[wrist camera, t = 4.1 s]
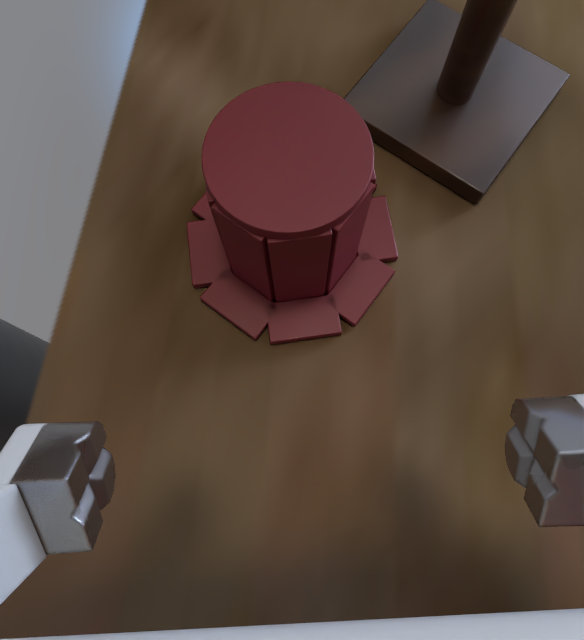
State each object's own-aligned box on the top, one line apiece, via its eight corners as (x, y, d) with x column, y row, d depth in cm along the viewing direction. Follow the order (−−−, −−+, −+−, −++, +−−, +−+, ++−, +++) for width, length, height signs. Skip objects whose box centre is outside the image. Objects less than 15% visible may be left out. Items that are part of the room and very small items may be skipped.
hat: (149, 262, 27) (88, 179, 19) (272, 122, 29) (263, -3, 21) (312, 383, 25) (317, 345, 17) (431, 224, 27) (483, 127, 19)
